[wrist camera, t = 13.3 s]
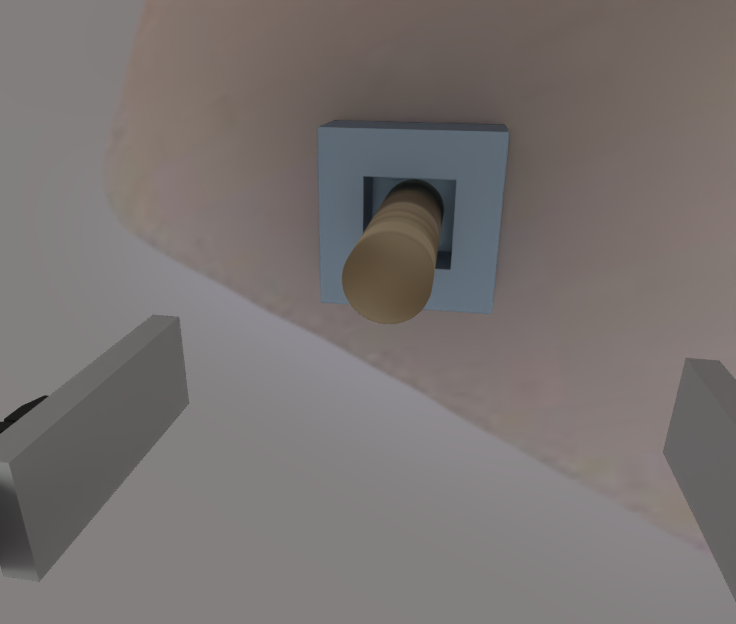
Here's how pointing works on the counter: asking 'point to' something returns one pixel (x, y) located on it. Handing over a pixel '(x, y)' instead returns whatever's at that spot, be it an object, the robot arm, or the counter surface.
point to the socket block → (421, 162)
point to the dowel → (396, 255)
